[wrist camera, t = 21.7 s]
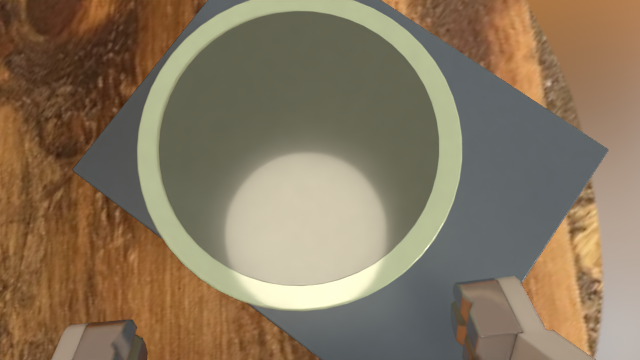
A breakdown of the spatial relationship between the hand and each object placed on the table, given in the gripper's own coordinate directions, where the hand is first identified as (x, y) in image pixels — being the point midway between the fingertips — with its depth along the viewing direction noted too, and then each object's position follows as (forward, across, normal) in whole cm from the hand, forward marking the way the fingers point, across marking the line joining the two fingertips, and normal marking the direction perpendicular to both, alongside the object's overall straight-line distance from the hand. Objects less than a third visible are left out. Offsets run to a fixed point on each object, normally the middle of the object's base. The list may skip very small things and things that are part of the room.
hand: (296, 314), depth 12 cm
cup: (+8, -1, +2) cm, 8 cm away
